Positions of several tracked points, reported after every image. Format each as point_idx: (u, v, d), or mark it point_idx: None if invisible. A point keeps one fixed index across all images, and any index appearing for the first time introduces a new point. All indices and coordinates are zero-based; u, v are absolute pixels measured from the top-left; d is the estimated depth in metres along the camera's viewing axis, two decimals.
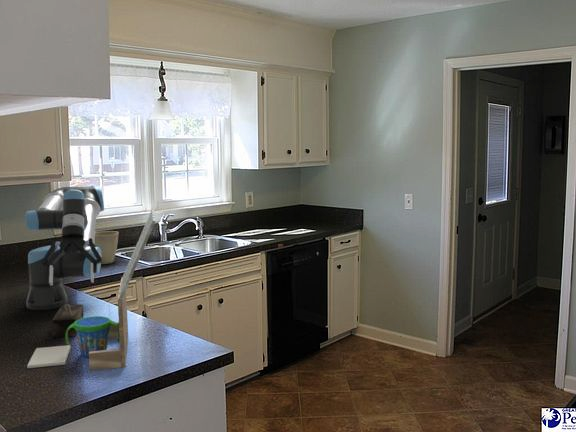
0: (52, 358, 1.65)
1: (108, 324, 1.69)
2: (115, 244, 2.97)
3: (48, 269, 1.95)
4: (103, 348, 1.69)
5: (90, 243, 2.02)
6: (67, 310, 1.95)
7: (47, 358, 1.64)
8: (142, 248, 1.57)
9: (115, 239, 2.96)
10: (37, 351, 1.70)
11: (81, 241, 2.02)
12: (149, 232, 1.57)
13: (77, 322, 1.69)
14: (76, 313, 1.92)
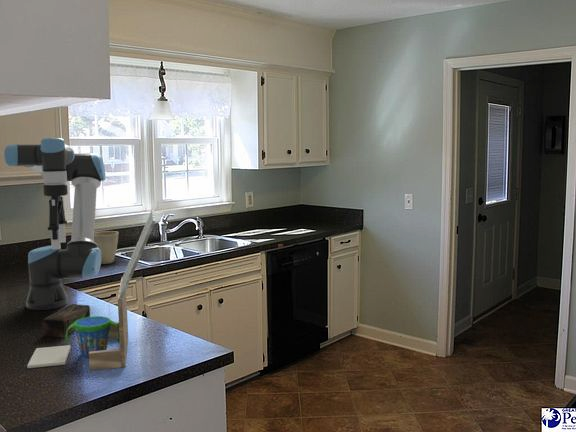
0: (52, 358, 1.65)
1: (108, 324, 1.69)
2: (115, 244, 2.97)
3: None
4: (103, 348, 1.69)
5: None
6: (68, 310, 1.95)
7: (47, 358, 1.64)
8: (142, 248, 1.57)
9: (115, 239, 2.96)
10: (37, 351, 1.70)
11: None
12: (149, 232, 1.57)
13: (77, 322, 1.69)
14: (72, 314, 1.91)
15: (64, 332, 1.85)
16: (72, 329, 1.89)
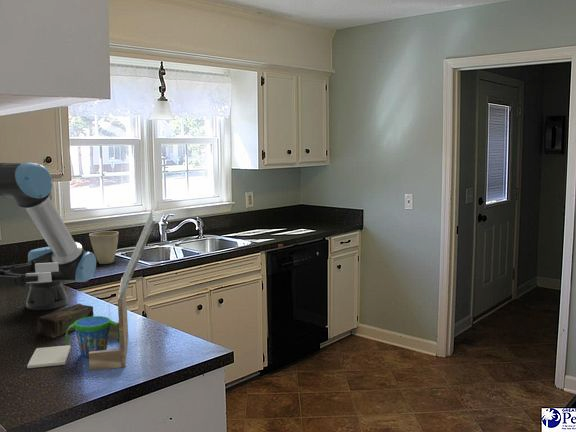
0: (52, 358, 1.65)
1: (108, 324, 1.69)
2: (115, 244, 2.97)
3: None
4: (103, 348, 1.69)
5: None
6: (68, 310, 1.95)
7: (47, 358, 1.64)
8: (142, 248, 1.57)
9: (115, 239, 2.96)
10: (37, 351, 1.70)
11: None
12: (149, 232, 1.57)
13: (77, 322, 1.69)
14: (68, 314, 1.90)
15: (55, 332, 1.84)
16: None
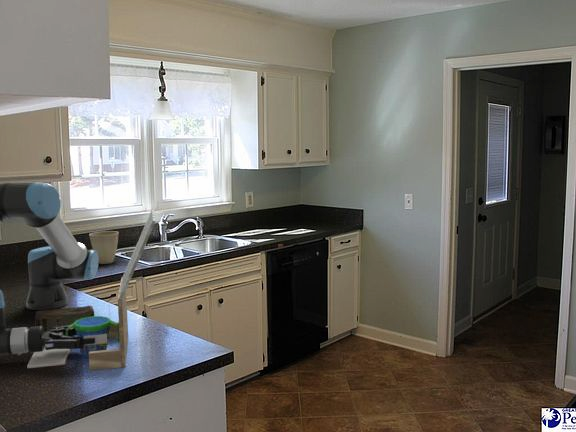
0: (52, 358, 1.65)
1: (108, 324, 1.69)
2: (115, 244, 2.97)
3: None
4: (103, 348, 1.69)
5: None
6: (70, 310, 1.95)
7: (47, 358, 1.64)
8: (142, 248, 1.57)
9: (115, 239, 2.96)
10: None
11: None
12: (149, 232, 1.57)
13: (77, 322, 1.69)
14: (58, 314, 1.90)
15: None
16: None
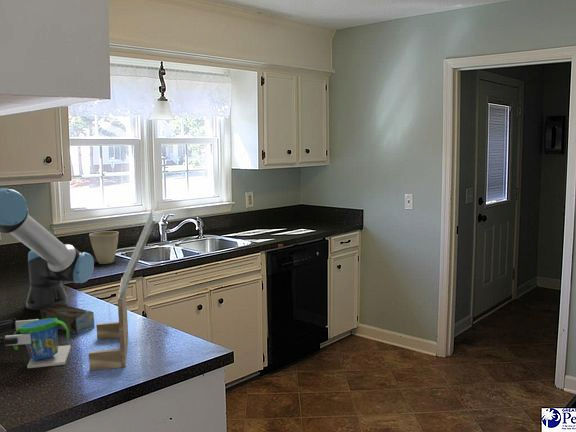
0: (52, 358, 1.65)
1: (53, 323, 1.63)
2: (115, 244, 2.97)
3: None
4: (52, 349, 1.63)
5: None
6: (71, 310, 1.95)
7: (47, 358, 1.64)
8: (142, 248, 1.57)
9: (115, 239, 2.96)
10: None
11: None
12: (149, 232, 1.57)
13: (23, 325, 1.64)
14: (54, 311, 1.94)
15: None
16: None
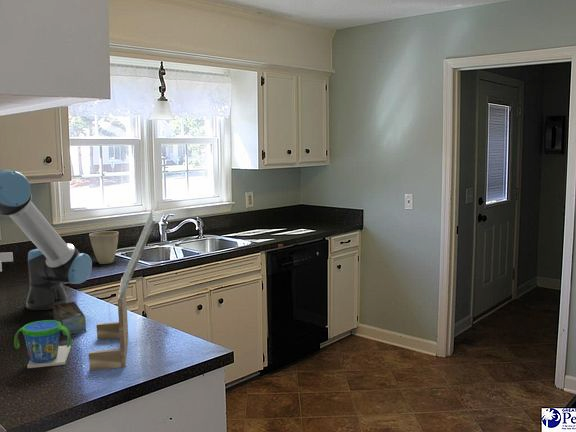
0: None
1: (56, 329, 1.62)
2: (115, 244, 2.97)
3: None
4: (51, 354, 1.62)
5: None
6: (70, 310, 1.94)
7: None
8: (142, 248, 1.57)
9: (115, 239, 2.96)
10: None
11: None
12: (149, 232, 1.57)
13: (27, 325, 1.64)
14: (58, 309, 1.96)
15: None
16: None
